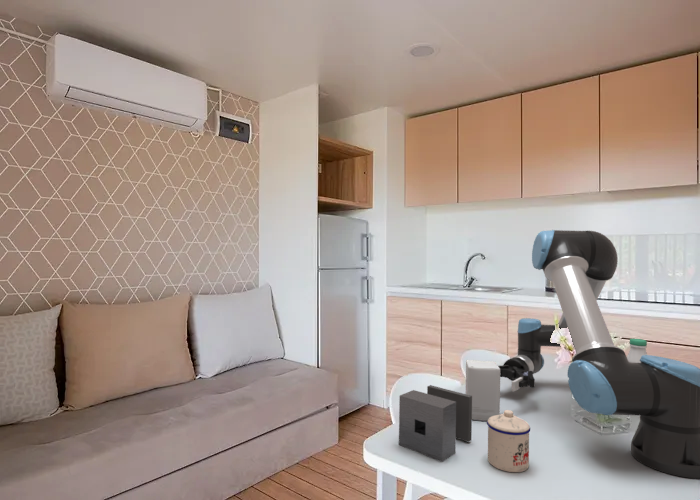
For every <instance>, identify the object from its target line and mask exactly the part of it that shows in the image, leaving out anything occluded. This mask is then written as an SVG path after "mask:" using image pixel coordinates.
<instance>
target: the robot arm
mask: <svg viewBox="0 0 700 500" xmlns="http://www.w3.org/2000/svg"><path fill="white" fill-rule="evenodd" d="M531 250H532V251H531V261H532V262H531V263H532V267H533V268H534V269H536V270H538V271H541V270H542V271H543V274H544V277H545V278H546V279H547V280H549V281H551V282H552V283H553V286H554V289H555V292H556V297H557V298H558V301H559V304H560V308H561V311H562V314H561V316H560V318H559V320H558V323H557V325H558V324H559V328H560V329H561V328H567V327H568V329H569V332H570V335H571V338H572V342H573V345H574V347H573V348H574V350H575V354H574V355H573V356H572V358H571V363H570V364H569V366H568V368H567V378H568V380H567V383H568V386H569V389H570V392H571V394H572V397H573V399H574V400H575V402H576V403H577V405H578V406H579V407H580V408H581V409H583V410H585V411H586V412H588V413H591V414H601V415H604V416H612V415H614V416H616V415H617V416H639V422H638V425H637V427H636V430H635V432H634V435H633V437H632V440H631V442H630V443H631V444H630V454H631V456H632V457H633V459H635V460H636V461H638V462H640V463H641V464H643V465H645V466H646V467H649V468H652V469H654V470H657V471H659V472H661V473H666V474H669V475H673V476H676V477H682V478H688V479H689V478H690V479H700V368H699V367H698V366H696V365H693V364H691V363H687V362H685V361H681V360H677V359H672V358H668V357H663V356H657V355H650V354H647V355H643V356H641V359H640V361H641V363H632V362H629V361H628V359H627V355H626V352H625V351H624V350H623V348H621V347H619V346H616V345H615V343H614V341H613V339H612V337H611V334H610V331H609V329H608V326H607V324H606V321H605V318H604V315H603V314H602V311H601V308H600V305H599V304H598V302H597V300H598V298H599V297H600V294H601V293H602V292H603V289H604V287H605V284H606V282H607V281H610V280H611V279H613V277H614V275H615V273H616V271H617V267H618V260H619V259H618V257H619V256H618V253H617V252H618V251H617V250H616V246H615V245H614V243H613V242H612V241H611V240H610V239H609V238H608V237H607V236H606V235H605V234H603V233H601V232H598V231H594V230H562V229H561V230H560V229H559V230H557V229H556V230H555V229H551V230H542V231H540V232H538V233H537V235H536V236H535V239H534V241H533V246H532V249H531ZM517 325H518V326H517V355H516V356H513V357H511V358H509V359H507V360H506V361H505V362H504V363H503V365H498V367H499V368H500V378H506V379H508V380H509V381H511V392H516V391H518V390H519V389H521V388H524V387H528V386H529V387H530V388H533V389H534V388H535V385H536V384H535V383H536V382H535V377H534V375H535V374H537V373H539V372H541V370H542V369H543V367H544V365H545V359H544V356H543V355H542V354H541V351H542V350H541V349H542V347H556V348H562V347H561V346H560V344H557V343H551V342H550V338H551V335H552V333H553V331H554V330H555V325H556V324H542V322H541V320H540V319H537V318H527V317H526V318H525V317H524V318H520V319H519V320H518V323H517Z"/></svg>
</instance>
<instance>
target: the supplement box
mask: <svg viewBox="0 0 700 500" xmlns="http://www.w3.org/2000/svg"><path fill="white" fill-rule="evenodd" d="M498 366H499V365H498V364H497V362H496V361H492V360H491V361H490V360H488V361H487V360H474V359H473V360H472V359H466V361H465V394H467V395H471V396H472V420H473V421H482V422H483V421H484V422H487V421H488V419H489V418H490V417H492V416H495V415H500V414H501V413H500V411H501V407H500V406H501V377H500V368H499V367H498Z"/></svg>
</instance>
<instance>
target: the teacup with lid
mask: <svg viewBox="0 0 700 500" xmlns="http://www.w3.org/2000/svg"><path fill="white" fill-rule="evenodd" d="M486 424H487V461H488V462H489V464H490V465H491V466H493V467H494V468H495V469H498V470H501V471H504V472H508V473H522V472H524V471H527V470H528V469H529V466H530V464H529V463H530V458H529V457H530V432H531V427H530V424H529V423H528V422H527V421H526V420H525V419H523V418H521V417H518V416H517V415H514V412H513V411H512V410H510V409H505V410H504V411H503V413H500V415H495V416H492V417H490V418H489V419H488V421H486Z"/></svg>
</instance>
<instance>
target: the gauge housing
mask: <svg viewBox="0 0 700 500" xmlns="http://www.w3.org/2000/svg"><path fill="white" fill-rule="evenodd" d="M398 402H399V405H398V406H399V412H398V415H399V416H398V417H399V418H398V445H399V446H401V447H404V448H406V449H408V450H410V451H413V452H416V453H418V454H421V455H424V456H426V457H429V458H431V459H434V460H437V461H439V462H441V463H442V462H444V461H446V460H447V459H449V458H451V456H453V455H455V454H456V452H457V451H456V447H457V446H456V444H457V443H456V440H457V438H456V402H455V401H452V400H448V399H444V398H441V397H437V396H433V395H430V394H427V393H426V392H422V391H418V390H416V389H415V390H414V389H413V390H410V391H408V392H404V393H403V394H400V395H399V401H398Z"/></svg>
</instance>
